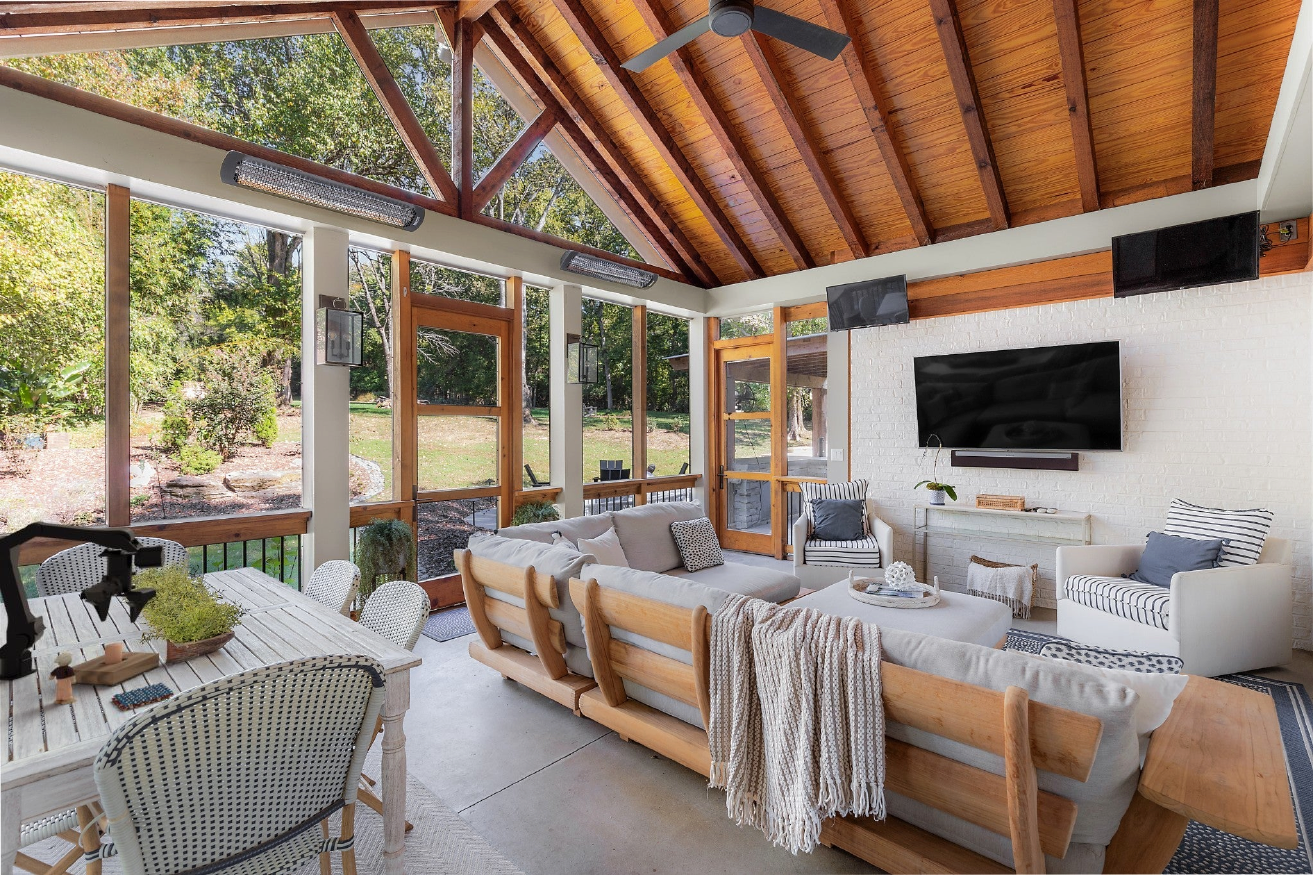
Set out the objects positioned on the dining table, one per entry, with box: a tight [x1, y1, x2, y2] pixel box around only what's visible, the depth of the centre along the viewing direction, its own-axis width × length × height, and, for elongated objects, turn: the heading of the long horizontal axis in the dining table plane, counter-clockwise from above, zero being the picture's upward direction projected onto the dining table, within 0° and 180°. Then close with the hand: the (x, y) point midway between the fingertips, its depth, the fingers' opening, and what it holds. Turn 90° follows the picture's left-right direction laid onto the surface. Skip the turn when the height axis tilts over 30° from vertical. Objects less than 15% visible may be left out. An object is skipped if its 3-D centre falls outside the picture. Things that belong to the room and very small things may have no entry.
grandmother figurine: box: [48, 651, 77, 705], centre depth 151 cm, size 8×4×13 cm, turn 92°
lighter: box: [165, 637, 200, 665], centre depth 180 cm, size 8×3×10 cm, turn 141°
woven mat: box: [110, 682, 175, 712], centre depth 153 cm, size 10×11×2 cm
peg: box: [104, 642, 123, 665], centre depth 167 cm, size 4×4×8 cm
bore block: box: [71, 651, 160, 688], centre depth 167 cm, size 14×14×4 cm
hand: (118, 622), depth 177 cm, fingers open, 9 cm apart
